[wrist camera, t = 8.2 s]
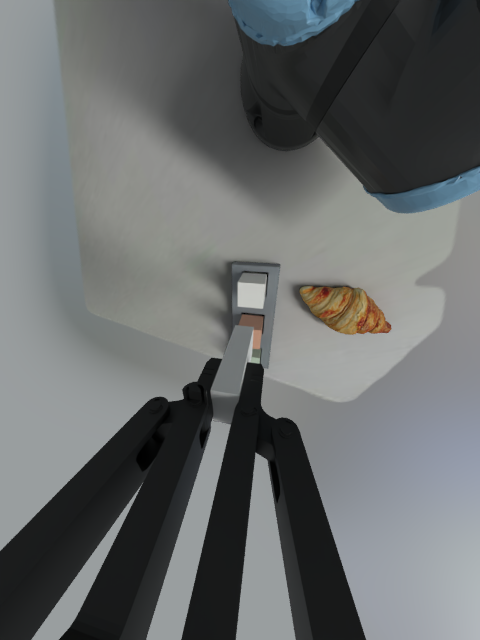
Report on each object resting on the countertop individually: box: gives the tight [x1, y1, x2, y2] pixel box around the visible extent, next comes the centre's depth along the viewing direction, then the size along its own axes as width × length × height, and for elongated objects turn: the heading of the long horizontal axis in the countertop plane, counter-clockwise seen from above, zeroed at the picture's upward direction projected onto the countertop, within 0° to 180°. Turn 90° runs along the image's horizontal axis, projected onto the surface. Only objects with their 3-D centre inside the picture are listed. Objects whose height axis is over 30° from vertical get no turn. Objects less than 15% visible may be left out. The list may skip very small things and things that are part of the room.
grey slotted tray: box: [232, 261, 280, 369], centre depth 48 cm, size 28×10×2 cm, turn 179°
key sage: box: [251, 348, 261, 364], centre depth 51 cm, size 5×5×6 cm
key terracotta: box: [239, 314, 263, 349], centre depth 44 cm, size 5×5×6 cm
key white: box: [238, 273, 267, 309], centre depth 39 cm, size 5×5×6 cm
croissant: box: [300, 286, 391, 334], centre depth 41 cm, size 21×10×8 cm, turn 70°
